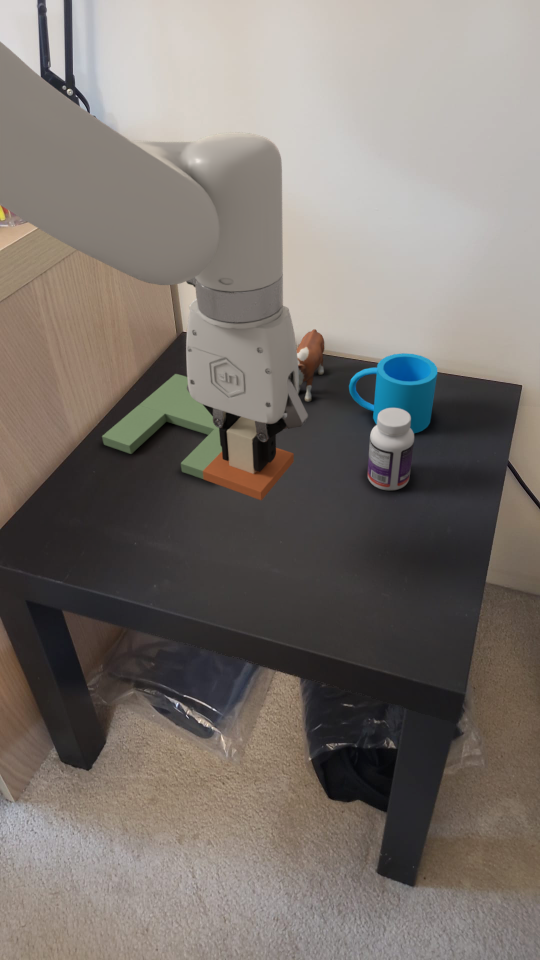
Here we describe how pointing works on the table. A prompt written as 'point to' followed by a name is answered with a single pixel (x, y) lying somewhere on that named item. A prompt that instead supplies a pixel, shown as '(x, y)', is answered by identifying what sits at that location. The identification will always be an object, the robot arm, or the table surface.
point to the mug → (401, 387)
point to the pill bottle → (391, 450)
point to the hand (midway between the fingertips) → (248, 457)
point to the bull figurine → (310, 359)
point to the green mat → (173, 408)
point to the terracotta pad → (247, 479)
